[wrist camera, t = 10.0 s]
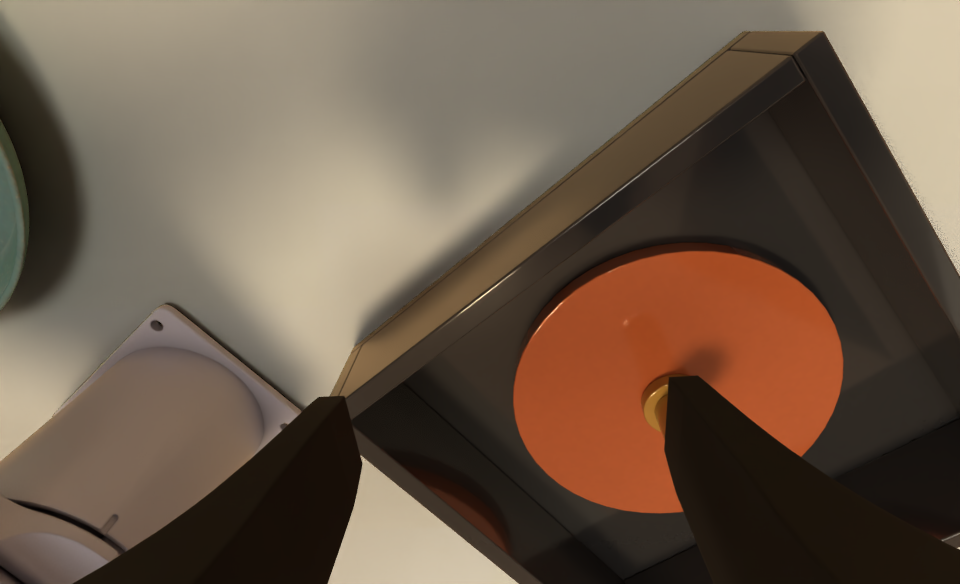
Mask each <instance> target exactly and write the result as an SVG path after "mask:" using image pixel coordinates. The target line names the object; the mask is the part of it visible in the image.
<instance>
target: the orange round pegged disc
mask: <svg viewBox="0 0 960 584" xmlns="http://www.w3.org/2000/svg"><path fill="white" fill-rule="evenodd" d="M696 375H698V376H699V377H700V378H702V379H703V380H704V381H705V382H707V383H708V384H709V385H710V386H711V387H713V388H714V389H715V390H716V391H717V392H718V393H720V394H721V395H722V396H723V397H724V398H726V399H727V400H728V401H729V402H730V403H732V404H733V405H734V406H735V407H736V408H738V409H739V410H740V411H741V412H742V413H744V414H745V415H746V416H747V417H749V418H750V419H751V420H752V421H753V422H755V423H756V424H757V425H759V426H760V427H761V428H762V429H764V430H765V431H766V432H767V433H769V434H770V435H771V436H773V437H774V438H775V439H777V440H778V441H779V442H781V443H782V444H783V445H785V446H786V447H787V448H789V449H790V450H791V451H793V452H794V453H796V454H797V455H799V456H800V457H802V456H803V455H804V454H805V452H806V451H807V450H808V449H809V448H810V447H811V446H812V445H813V444H814V442H815V441H816V440H817V438H818V437H819V435H820V434H821V433H822V431H823V430H824V429H825V427H826V425H827V423H828V421H829V419H830V417H831V416H832V414H833V412H834V409H835V406H836V403H837V401H838V398H839V395H840V390H841V385H842V380H843V354H842V347H841V341H840V338H839V335H838V332H837V329H836V327H835V324H834V322H833V320H832V319H831V317H830V315H829V313H828V311H827V310H826V308H825V307H824V305H823V304H822V303H821V302H820V301H819V299H818V298H817V297H816V296H815V295H814V293H813V292H811V291H810V290H809V289H808V288H807V287H806V286H805V285H803V284H802V283H801V282H800V281H799V280H798V279H796V278H795V277H794V276H793V275H792V274H791V273H789V272H788V271H787V270H785V269H783V268H782V267H780V266H779V265H777V264H775V263H774V262H772V261H771V260H768V259H766V258H764V257H761V256H759V255H757V254H754V253H752V252H749V251H746V250H742V249H738V248H735V247H731V246H726V245H718V244H711V243H674V244H664V245H657V246H652V247H648V248H644V249H639V250H635V251H632V252H629V253H626V254H624V255H621V256H618V257H615V258H612V259H610V260H608V261H606V262H604V263H602V264H600V265H598V266H596V267H594V268H592V269H590V270H589V271H587V272H586V273H584V274H583V275H581V276H580V277H578V278H576V279H575V280H573V281H572V282H571V283H570V284H568V285H567V286H566V287H565V288H564V289H562V290H561V291H560V292H559V293H558V294H556V296H555V297H554V298H553V299H552V300H551V301H550V302H549V303H548V304H547V305H546V306H545V307H544V308H543V309H542V311H541V312H540V314H539V315H538V316H537V318H536V319H535V320H534V322H533V323H532V325H531V326H530V328H529V330H528V332H527V334H526V336H525V338H524V340H523V342H522V344H521V347H520V350H519V353H518V356H517V358H516V363H515V369H514V374H513V407H514V415H515V421H516V424H517V427H518V431H519V434H520V436H521V438H522V440H523V442H524V444H525V446H526V448H527V450H528V451H529V453H530V454H531V456H532V457H533V459H534V460H535V462H536V463H537V464H538V465H539V466H540V467H541V468H542V469H543V470H544V471H545V472H546V474H548V475H549V476H550V477H551V478H552V479H554V480H555V481H556V482H557V483H559V484H560V485H561V486H563V487H565V488H566V489H568V490H569V491H571V492H573V493H574V494H576V495H578V496H581V497H583V498H585V499H587V500H589V501H592V502H595V503H598V504H601V505H603V506H607V507H611V508H615V509H620V510H624V511H632V512H640V513H676V512H683V509H682V507H681V504H680V502H679V499H678V497H677V494H676V491H675V488H674V484H673V481H672V477H671V474H670V470H669V467H668V463H667V459H666V455H665V452H664V443H665V428H666V412H667V397H668V381H669V377H679V376H696Z"/></svg>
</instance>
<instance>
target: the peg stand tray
mask: <svg viewBox="0 0 960 584" xmlns="http://www.w3.org/2000/svg"><path fill="white" fill-rule="evenodd" d="M674 243H711V244H718V245H726V246H731V247H735V248H738V249H742V250H746V251H749V252H752V253H754V254H757V255H759V256H761V257H764V258H766V259H768V260H771V261H772V262H774V263H775V264H777V265H779V266H780V267H782V268H783V269H785V270H787V271H788V272H789V273H791V274H792V275H793V276H794V277H795V278H796V279H798V280H799V281H800V282H801V283H802V284H803V285H805V286H806V287H807V288H808V289H809V290H810V291H811V292H813V293H814V295H815V296H816V297H817V298H818V299H819V301H820V302H821V303H822V304H823V305H824V307H825V308H826V310H827V311H828V313H829V315H830V317H831V319H832V320H833V322H834V324H835V327H836V329H837V332H838V335H839V338H840V341H841V347H842V354H843V380H842V385H841V390H840V395H839V398H838V401H837V403H836V406H835V409H834V412H833V414H832V416H831V417H830V419H829V421H828V423H827V425H826V427H825V429H824V430H823V431H822V433H821V434H820V435H819V437H818V438H817V440H816V441H815V442H814V444H813V445H812V446H811V447H810V448H809V449H808V450H807V451H806V452H805V454H804V455H803V456H802V457H801V458H803V459H804V460H806V461H807V462H809V463H810V464H811V465H813V466H814V467H816V468H817V469H819V470H820V471H822V472H823V473H825V474H826V475H828V476H829V477H831V478H832V479H834V480H835V481H837V482H838V483H840V484H842V485H843V486H845V487H847V488H848V489H850V490H851V491H853V492H855V493H856V494H858V495H860V496H861V497H863V498H865V499H866V500H868V501H869V502H871V503H873V504H874V505H876V506H878V507H880V508H881V509H883V510H885V511H887V512H889V513H890V514H892V515H894V516H896V517H897V518H899V519H901V520H903V521H905V522H907V523H909V524H911V525H913V526H914V527H916V528H918V529H920V530H922V531H924V532H926V533H928V534H929V535H931V536H933V537H935V538H937V539H939V540H941V541H943V542H945V543H947V544H949V545H951V546H953V547H955V548H958V547H960V275H959V274H958V272H957V270H956V268H955V266H954V265H953V263H952V261H951V259H950V257H949V256H948V254H947V252H946V250H945V248H944V247H943V245H942V243H941V241H940V239H939V238H938V236H937V234H936V232H935V231H934V229H933V227H932V225H931V223H930V222H929V220H928V218H927V216H926V214H925V213H924V211H923V209H922V207H921V205H920V204H919V202H918V200H917V198H916V196H915V195H914V193H913V191H912V189H911V187H910V186H909V184H908V182H907V180H906V178H905V177H904V175H903V173H902V171H901V169H900V168H899V166H898V164H897V162H896V160H895V159H894V157H893V155H892V153H891V151H890V150H889V148H888V146H887V144H886V142H885V141H884V139H883V137H882V135H881V133H880V132H879V130H878V128H877V126H876V124H875V123H874V121H873V119H872V117H871V115H870V114H869V112H868V110H867V108H866V106H865V105H864V103H863V101H862V99H861V97H860V96H859V94H858V92H857V90H856V88H855V87H854V85H853V83H852V81H851V79H850V78H849V76H848V74H847V72H846V70H845V69H844V67H843V65H842V63H841V61H840V60H839V58H838V56H837V54H836V52H835V51H834V49H833V47H832V45H831V43H830V42H829V40H828V38H827V36H826V34H825V33H824V32H823V31H752V32H751V31H744V32H742V33H741V34H739V35H738V36H737V37H736V38H735V39H733V40H732V41H731V42H730V43H728V44H727V45H726V46H725V47H723V48H722V49H721V50H720V51H718V52H717V53H716V54H715V55H714V56H712V57H711V58H710V59H709V60H707V61H706V62H705V63H704V64H702V65H701V66H700V67H699V68H698V69H696V70H695V71H694V72H693V73H691V74H690V75H689V76H688V77H686V78H685V79H684V80H683V81H681V82H680V83H679V84H678V85H677V86H675V87H674V88H673V89H672V90H670V91H669V92H668V93H667V94H665V95H664V96H663V97H662V98H661V99H659V100H658V101H657V102H656V103H654V104H653V105H652V106H651V107H649V108H648V109H647V110H646V111H645V112H643V113H642V114H641V115H640V116H638V117H637V118H636V119H635V120H633V121H632V122H631V123H630V124H628V125H627V126H626V127H625V128H624V129H622V130H621V131H620V132H619V133H617V134H616V135H615V136H614V137H612V138H611V139H610V140H609V141H608V142H606V143H605V144H604V145H603V146H601V147H600V148H599V149H598V150H596V151H595V152H594V153H593V154H591V155H590V156H589V157H588V158H587V159H585V160H584V161H583V162H582V163H580V164H579V165H578V166H577V167H575V168H574V169H573V170H572V171H571V172H569V173H568V174H567V175H566V176H564V177H563V178H562V179H561V180H559V181H558V182H557V183H556V184H554V185H553V186H552V187H551V188H550V189H548V190H547V191H546V192H545V193H543V194H542V195H541V196H540V197H538V198H537V199H536V200H535V201H534V202H532V203H531V204H530V205H529V206H527V207H526V208H525V209H524V210H522V211H521V212H520V213H519V214H518V215H516V216H515V217H514V218H513V219H511V220H510V221H509V222H508V223H506V224H505V225H504V226H503V227H501V228H500V229H499V230H498V231H497V232H495V233H494V234H493V235H492V236H490V237H489V238H488V239H487V240H485V241H484V242H483V243H482V244H481V245H479V246H478V247H477V248H476V249H474V250H473V251H472V252H471V253H469V254H468V255H467V256H466V257H464V258H463V259H462V260H461V261H460V262H458V263H457V264H456V265H455V266H453V267H452V268H451V269H450V270H448V271H447V272H446V273H445V274H444V275H442V276H441V277H440V278H439V279H437V280H436V281H435V282H434V283H432V284H431V285H430V286H429V287H427V288H426V289H425V290H424V291H423V292H421V293H420V294H419V295H418V296H416V297H415V298H414V299H413V300H411V301H410V302H409V303H408V304H407V305H405V306H404V307H403V308H402V309H400V310H399V311H398V312H397V313H395V314H394V315H393V316H392V317H390V318H389V319H388V320H387V321H386V322H384V323H383V324H382V325H381V326H379V327H378V328H377V329H376V330H374V331H373V332H372V333H371V334H370V335H368V336H367V337H366V338H365V339H363V340H362V341H361V342H360V343H358V344H357V345H356V346H355V347H354V348H353V350H352V352H351V354H350V356H349V358H348V360H347V362H346V364H345V366H344V368H343V370H342V372H341V374H340V376H339V378H338V380H337V382H336V384H335V386H334V388H333V390H332V393H331V395H330V396H345V399H346V403H347V407H348V411H349V415H350V418H351V422H352V426H353V430H354V434H355V438H356V441H357V445H358V449H359V453H360V455H361V456H363V457H364V458H365V459H366V460H368V461H369V462H370V463H371V464H372V465H374V466H375V467H376V468H377V469H379V470H380V471H381V472H382V473H383V474H385V475H386V476H387V477H388V478H390V479H391V480H392V481H393V482H395V483H396V484H397V485H398V486H399V487H401V488H402V489H403V490H404V491H406V492H407V493H408V494H409V495H411V496H412V497H413V498H414V499H415V500H417V501H418V502H419V503H420V504H422V505H423V506H424V507H425V508H427V509H428V510H429V511H430V512H431V513H433V514H434V515H435V516H436V517H438V518H439V519H440V520H441V521H443V522H444V523H445V524H446V525H447V526H449V527H450V528H451V529H452V530H454V531H455V532H456V533H457V534H458V535H460V536H461V537H462V538H463V539H465V540H466V541H467V542H468V543H470V544H471V545H472V546H473V547H474V548H476V549H477V550H478V551H479V552H481V553H482V554H483V555H484V556H486V557H487V558H488V559H489V560H490V561H492V562H493V563H494V564H495V565H497V566H498V567H499V568H500V569H502V570H503V571H504V572H505V573H506V574H508V575H509V576H510V577H511V578H513V579H514V580H515V581H516V582H517V583H519V584H714V583H713V581H712V578H711V576H710V574H709V571H708V569H707V567H706V564H705V562H704V559H703V557H702V555H701V552H700V550H699V547H698V545H697V543H696V540H695V538H694V536H693V533H692V531H691V528H690V526H689V524H688V521H687V519H686V516H685V514H684V512H676V513H640V512H632V511H624V510H620V509H615V508H611V507H607V506H603V505H601V504H598V503H595V502H592V501H589V500H587V499H585V498H583V497H581V496H578V495H576V494H574V493H573V492H571V491H569V490H568V489H566V488H565V487H563V486H561V485H560V484H559V483H557V482H556V481H555V480H554V479H552V478H551V477H550V476H549V475H548V474H546V472H545V471H544V470H543V469H542V468H541V467H540V466H539V465H538V464H537V463H536V462H535V460H534V459H533V457H532V456H531V454H530V453H529V451H528V450H527V448H526V446H525V444H524V442H523V440H522V438H521V436H520V434H519V431H518V427H517V424H516V421H515V415H514V407H513V374H514V369H515V363H516V358H517V356H518V353H519V350H520V347H521V344H522V342H523V340H524V338H525V336H526V334H527V332H528V330H529V328H530V326H531V325H532V323H533V322H534V320H535V319H536V318H537V316H538V315H539V314H540V312H541V311H542V309H543V308H544V307H545V306H546V305H547V304H548V303H549V302H550V301H551V300H552V299H553V298H554V297H555V296H556V294H558V293H559V292H560V291H561V290H562V289H564V288H565V287H566V286H567V285H568V284H570V283H571V282H572V281H573V280H575V279H576V278H578V277H580V276H581V275H583V274H584V273H586V272H587V271H589V270H590V269H592V268H594V267H596V266H598V265H600V264H602V263H604V262H606V261H608V260H610V259H612V258H615V257H618V256H621V255H624V254H626V253H629V252H632V251H635V250H639V249H644V248H648V247H652V246H657V245H664V244H674Z"/></svg>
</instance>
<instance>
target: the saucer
mask: <svg viewBox="0 0 960 584" xmlns="http://www.w3.org/2000/svg"><path fill="white" fill-rule="evenodd" d="M28 239H29V207H28V198H27V191H26V186H25V182H24V178H23V173H22V169H21V166H20V163H19V160H18V157H17V155H16V152H15V149H14V147H13V144H12V142H11V140H10V137H9V135H8V133H7V131H6V129H5V127H4V125H3V123H2V121H1V119H0V311H1V310H2V309H3V307H4V306H5V305H6V304H7V302H8V301H9V299H10V298H11V296H12V294H13V292H14V290H15V288H16V286H17V283H18V281H19V278H20V275H21V272H22V269H23V265H24V261H25V257H26V253H27V247H28Z"/></svg>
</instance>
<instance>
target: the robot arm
mask: <svg viewBox="0 0 960 584" xmlns="http://www.w3.org/2000/svg"><path fill="white" fill-rule="evenodd" d="M157 321H159V322H161V324H162V325H163V326H160V325H159V324H158V323H157ZM284 423H287V424H288V425H285V424H284ZM664 452H665V455H666V459H667V463H668V467H669V470H670V474H671V477H672V481H673V484H674V488H675V491H676V494H677V497H678V499H679V502H680V504H681V507H682V509H683V512H684V514H685V516H686V519H687V521H688V524H689V526H690V528H691V531H692V533H693V536H694V538H695V540H696V543H697V545H698V547H699V550H700V552H701V555H702V557H703V559H704V562H705V564H706V567H707V569H708V571H709V574H710V576H711V578H712V581H713V583H714V584H960V550H959V549H957V548H955V547H953V546H951V545H949V544H947V543H945V542H943V541H941V540H939V539H937V538H935V537H933V536H931V535H929V534H928V533H926V532H924V531H922V530H920V529H918V528H916V527H914V526H913V525H911V524H909V523H907V522H905V521H903V520H901V519H899V518H897V517H896V516H894V515H892V514H890V513H889V512H887V511H885V510H883V509H881V508H880V507H878V506H876V505H874V504H873V503H871V502H869V501H868V500H866V499H865V498H863V497H861V496H860V495H858V494H856V493H855V492H853V491H851V490H850V489H848V488H847V487H845V486H843V485H842V484H840V483H838V482H837V481H835V480H834V479H832V478H831V477H829V476H828V475H826V474H825V473H823V472H822V471H820V470H819V469H817V468H816V467H814V466H813V465H811V464H810V463H809V462H807V461H806V460H804V459H803V458H801V457H800V456H799V455H797V454H796V453H794V452H793V451H791V450H790V449H789V448H787V447H786V446H785V445H783V444H782V443H781V442H779V441H778V440H777V439H775V438H774V437H773V436H771V435H770V434H769V433H767V432H766V431H765V430H764V429H762V428H761V427H760V426H759V425H757V424H756V423H755V422H753V421H752V420H751V419H750V418H749V417H747V416H746V415H745V414H744V413H742V412H741V411H740V410H739V409H738V408H736V407H735V406H734V405H733V404H732V403H730V402H729V401H728V400H727V399H726V398H724V397H723V396H722V395H721V394H720V393H718V392H717V391H716V390H715V389H714V388H713V387H711V386H710V385H709V384H708V383H707V382H705V381H704V380H703V379H702V378H700V377H699V376H698V375H696V376H679V377H669V381H668V397H667V412H666V428H665V443H664ZM361 469H362V460H361V457H360V453H359V449H358V445H357V441H356V438H355V434H354V430H353V426H352V422H351V418H350V415H349V411H348V407H347V403H346V399H345V396H329V397H318V398H317V399H316V400H315V401H313V402H312V403H311V404H310V405H309V406H308V407H307V408H306V409H304V410H303V411H301V410H300V409H298V408H297V407H296V406H295V405H294V404H292V403H291V402H290V401H289V400H287V399H286V398H285V397H284V396H282V395H281V394H280V393H279V392H278V391H276V390H275V389H274V388H273V387H271V386H270V385H269V384H268V383H266V382H265V381H264V380H263V379H261V378H260V377H259V376H258V375H257V374H255V373H254V372H253V371H252V370H250V369H249V368H248V367H247V366H245V365H244V364H243V363H242V362H240V361H239V360H238V359H237V358H236V357H234V356H233V355H232V354H231V353H229V352H228V351H227V350H226V349H224V348H223V347H222V346H221V345H220V344H218V343H217V342H216V341H215V340H213V339H212V338H211V337H210V336H208V335H207V334H206V333H205V332H203V331H202V330H201V329H200V328H199V327H197V326H196V325H195V324H194V323H192V322H191V321H190V320H189V319H187V318H186V317H185V316H184V315H182V314H181V313H180V312H179V311H178V310H176V309H175V308H173V307H172V306H169V305H161V306H159V307H158V308H157V309H155V310H154V311H153V312H152V313H151V314H150V315H149V316H148V317H147V318H146V319H145V320H144V321H143V322H142V323H141V324H140V326H139V327H138V328H137V329H136V330H135V331H134V332H133V333H132V334H131V335H130V336H129V337H128V338H127V339H126V340H125V341H124V342H123V343H122V344H121V345H120V346H119V347H118V348H117V349H116V350H115V351H114V352H113V353H112V354H111V355H110V356H109V357H108V358H107V360H106V361H105V362H104V363H103V364H102V365H101V366H100V367H99V368H98V369H97V370H96V371H95V372H94V373H93V374H92V375H91V376H90V377H89V378H88V379H87V380H86V381H85V382H84V383H83V384H82V385H81V386H80V387H79V388H78V389H77V390H76V391H75V392H74V394H73V395H72V396H71V397H70V398H69V399H68V400H67V401H66V402H65V403H64V404H63V405H62V406H61V407H60V408H59V409H58V410H57V411H56V412H55V413H54V414H53V416H52V418H51V419H50V420H49V421H48V422H46V423H45V424H44V425H43V426H42V427H41V428H39V429H38V430H37V431H36V432H35V433H33V434H32V435H31V436H30V437H29V438H28V439H26V440H25V441H24V442H23V443H22V444H20V445H19V446H18V447H17V448H16V449H15V450H13V451H12V452H11V453H10V454H9V455H8V456H6V457H5V458H4V459H3V460H2V461H0V584H328V581H329V578H330V575H331V572H332V569H333V566H334V563H335V560H336V557H337V555H338V552H339V549H340V546H341V543H342V540H343V537H344V534H345V531H346V528H347V525H348V522H349V519H350V516H351V513H352V510H353V507H354V503H355V499H356V494H357V489H358V484H359V479H360V474H361Z"/></svg>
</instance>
